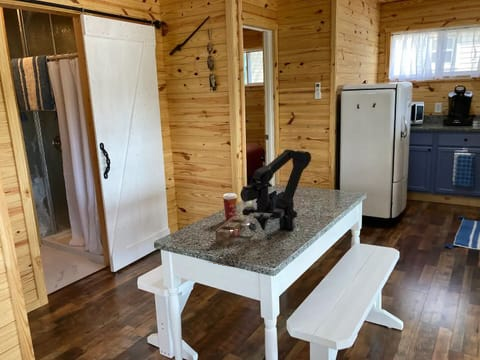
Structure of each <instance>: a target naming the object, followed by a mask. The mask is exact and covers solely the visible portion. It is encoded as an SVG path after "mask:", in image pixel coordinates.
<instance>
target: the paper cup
mask: <svg viewBox="0 0 480 360" xmlns="http://www.w3.org/2000/svg"><path fill="white" fill-rule="evenodd" d="M222 200H223V206H224V207H223V208H224V214H225V215H224V216H225V221H226V222H227V221H228V220H230V219H231V218H232V217H234V216H236V217H237V215H238V210H237V209H238V204H237V203H238V195H237V193H234V192H228V193H224V194H223V196H222Z"/></svg>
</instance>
